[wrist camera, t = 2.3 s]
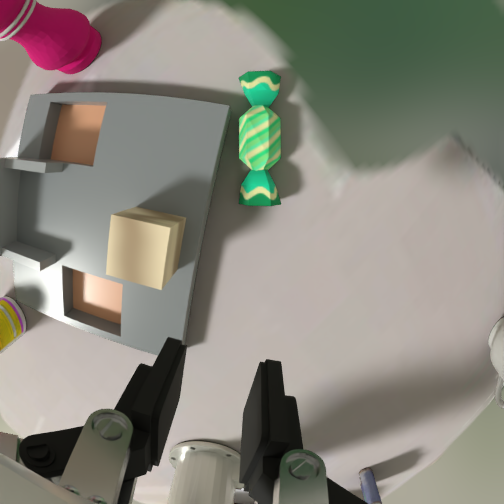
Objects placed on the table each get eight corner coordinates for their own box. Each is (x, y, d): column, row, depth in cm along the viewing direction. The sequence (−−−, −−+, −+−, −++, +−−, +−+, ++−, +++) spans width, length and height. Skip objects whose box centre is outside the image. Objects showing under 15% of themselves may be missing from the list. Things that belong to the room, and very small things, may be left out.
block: (186, 217, 25) (170, 227, 21) (177, 269, 27) (161, 290, 22) (136, 206, 25) (111, 214, 20) (129, 257, 26) (106, 274, 22)
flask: (358, 470, 39) (370, 514, 29) (373, 465, 39) (386, 508, 29) (359, 487, 41) (369, 526, 31) (373, 482, 41) (384, 521, 31)
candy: (287, 203, 27) (263, 207, 23) (256, 201, 29) (230, 204, 25) (287, 80, 24) (263, 66, 20) (256, 85, 26) (230, 74, 22)
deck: (231, 111, 25) (222, 89, 18) (184, 349, 32) (167, 390, 25) (42, 98, 24) (2, 88, 17) (26, 293, 31) (-7, 315, 24)
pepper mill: (54, 47, 22) (-56, 2, 3) (100, 16, 22) (1, -60, 2) (61, 89, 24) (-71, 55, 5) (110, 56, 23) (-13, -19, 4)
